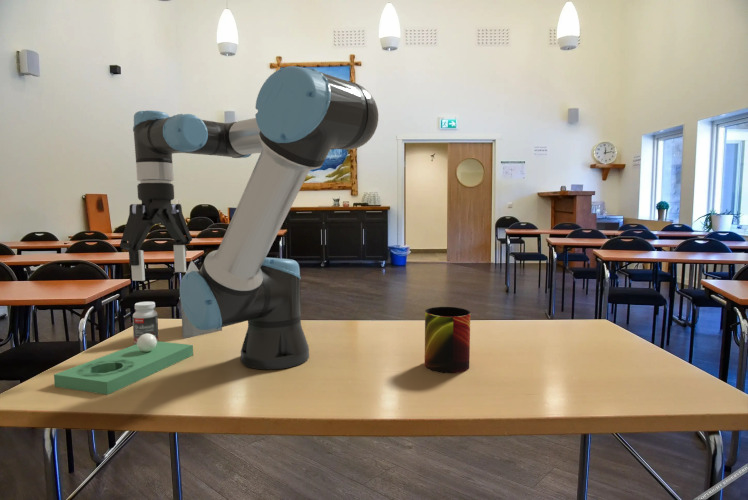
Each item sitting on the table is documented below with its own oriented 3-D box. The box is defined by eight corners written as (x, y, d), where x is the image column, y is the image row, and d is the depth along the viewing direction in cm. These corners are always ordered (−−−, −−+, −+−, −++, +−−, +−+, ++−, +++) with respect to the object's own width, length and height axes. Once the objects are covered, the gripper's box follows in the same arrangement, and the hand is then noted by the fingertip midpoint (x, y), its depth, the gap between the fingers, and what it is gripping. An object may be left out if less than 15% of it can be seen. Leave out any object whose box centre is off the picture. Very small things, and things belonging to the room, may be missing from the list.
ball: (161, 349, 108) (160, 332, 108) (147, 355, 104) (147, 337, 104) (146, 347, 109) (146, 330, 109) (133, 353, 105) (132, 335, 105)
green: (147, 349, 116) (147, 340, 115) (193, 355, 112) (192, 345, 111) (54, 386, 93) (53, 374, 93) (107, 394, 89) (106, 382, 89)
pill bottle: (133, 346, 119) (131, 306, 118) (134, 339, 124) (132, 302, 123) (158, 343, 121) (156, 304, 120) (158, 337, 126) (157, 300, 125)
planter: (212, 338, 125) (210, 264, 123) (182, 338, 125) (178, 264, 123) (230, 322, 142) (228, 257, 140) (203, 322, 141) (200, 257, 139)
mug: (457, 352, 114) (458, 302, 113) (475, 373, 100) (476, 316, 99) (417, 353, 113) (418, 303, 112) (429, 374, 99) (430, 317, 98)
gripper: (178, 185, 121) (183, 268, 123) (96, 180, 98) (103, 284, 100) (204, 184, 119) (208, 269, 121) (126, 179, 95) (132, 285, 97)
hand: (160, 276), depth 110 cm, fingers open, 13 cm apart
